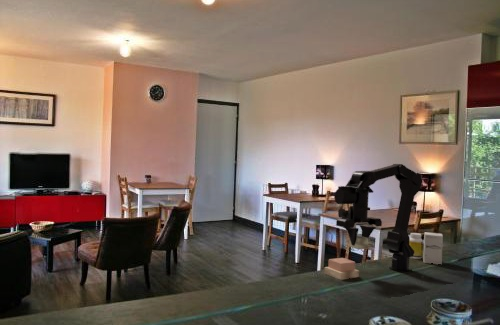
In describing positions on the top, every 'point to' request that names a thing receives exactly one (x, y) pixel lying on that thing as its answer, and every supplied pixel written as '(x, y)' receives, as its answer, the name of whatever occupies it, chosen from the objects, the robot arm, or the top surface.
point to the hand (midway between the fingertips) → (358, 244)
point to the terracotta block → (341, 264)
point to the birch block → (341, 273)
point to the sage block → (360, 243)
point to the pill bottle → (416, 245)
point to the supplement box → (433, 248)
